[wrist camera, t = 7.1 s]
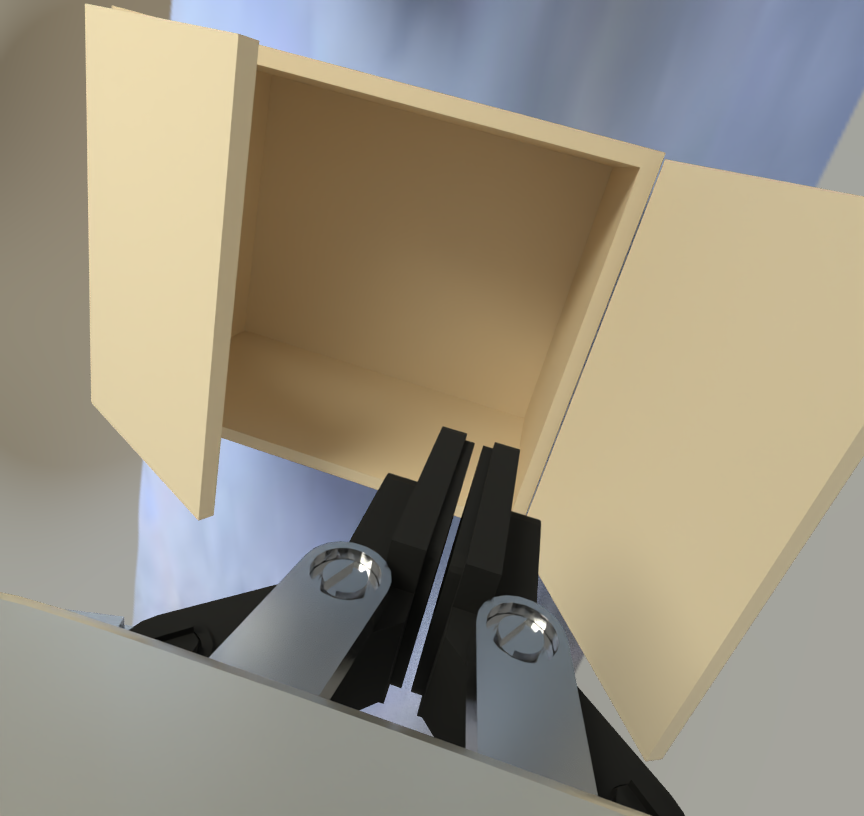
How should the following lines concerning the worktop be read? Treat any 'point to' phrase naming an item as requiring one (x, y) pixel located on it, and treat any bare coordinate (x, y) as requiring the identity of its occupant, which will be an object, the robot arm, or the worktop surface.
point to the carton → (416, 272)
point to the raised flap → (704, 433)
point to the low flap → (165, 233)
